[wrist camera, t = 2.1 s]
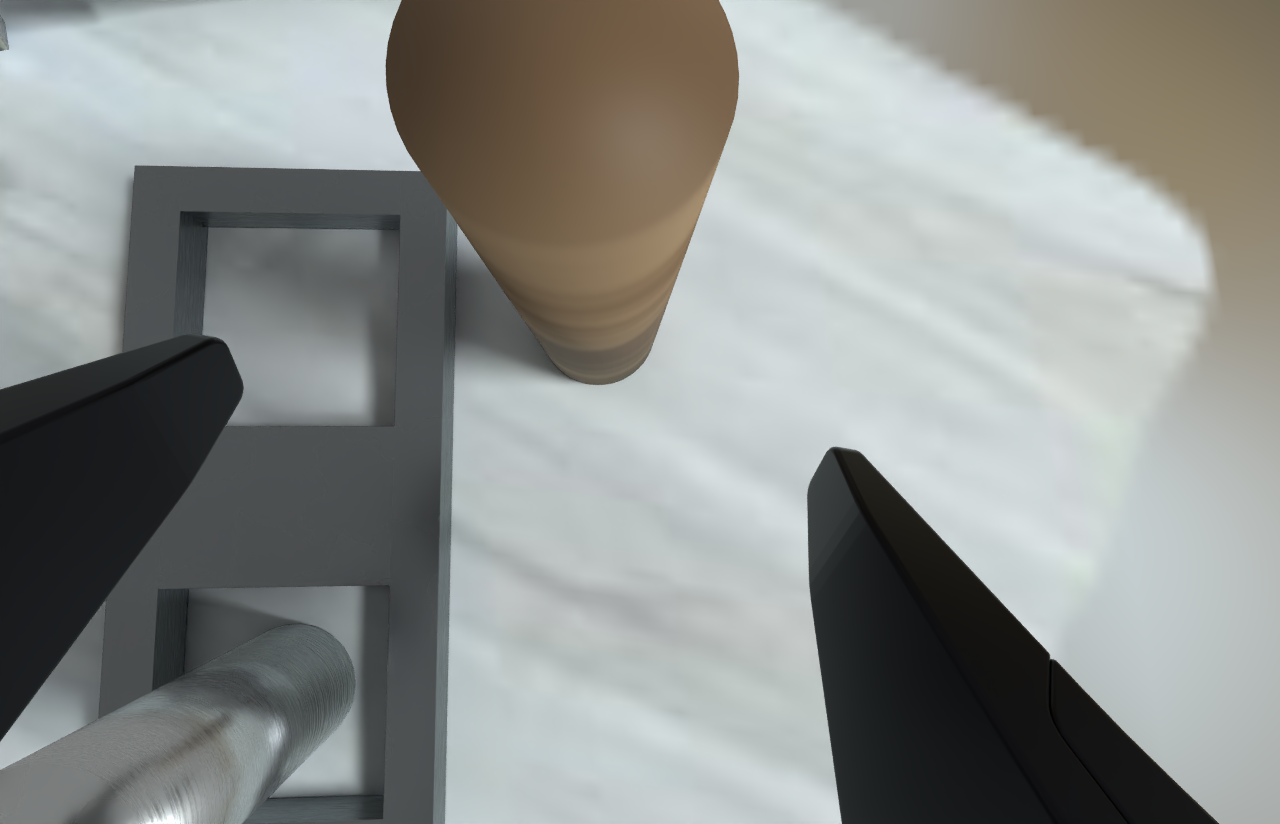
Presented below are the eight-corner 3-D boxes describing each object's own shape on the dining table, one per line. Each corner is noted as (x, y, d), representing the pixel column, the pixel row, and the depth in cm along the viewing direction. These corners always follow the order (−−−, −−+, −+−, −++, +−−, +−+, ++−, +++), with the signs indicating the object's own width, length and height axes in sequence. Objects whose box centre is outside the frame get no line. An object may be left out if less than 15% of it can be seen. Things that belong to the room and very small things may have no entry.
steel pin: (353, 747, 18) (139, 991, 10) (226, 751, 17) (-98, 1003, 10) (357, 622, 18) (152, 760, 10) (233, 625, 18) (-77, 767, 10)
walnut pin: (655, 384, 19) (742, 244, 6) (541, 384, 19) (380, 239, 6) (654, 274, 19) (736, -86, 6) (542, 272, 19) (390, -101, 6)
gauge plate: (444, 840, 18) (432, 869, 16) (124, 853, 17) (87, 883, 16) (457, 189, 19) (447, 171, 18) (165, 183, 19) (134, 165, 18)
